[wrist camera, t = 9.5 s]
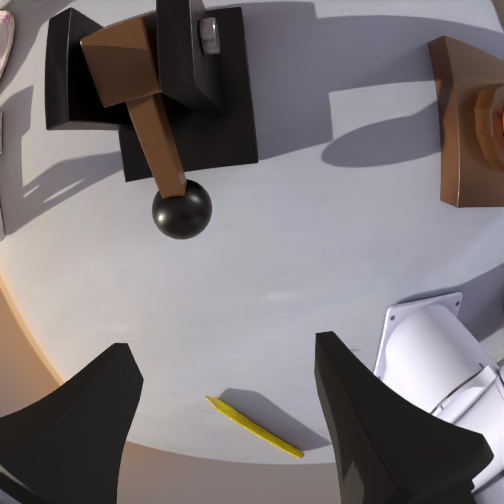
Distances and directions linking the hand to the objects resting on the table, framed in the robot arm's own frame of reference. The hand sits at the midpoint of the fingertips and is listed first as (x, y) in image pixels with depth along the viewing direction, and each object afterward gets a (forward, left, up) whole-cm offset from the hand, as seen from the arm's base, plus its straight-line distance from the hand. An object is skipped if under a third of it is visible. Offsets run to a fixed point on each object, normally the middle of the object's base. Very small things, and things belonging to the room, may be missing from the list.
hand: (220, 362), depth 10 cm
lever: (+9, +2, -5) cm, 10 cm away
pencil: (-19, -1, -9) cm, 21 cm away
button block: (+9, -20, -9) cm, 24 cm away
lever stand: (+11, +2, -9) cm, 15 cm away
